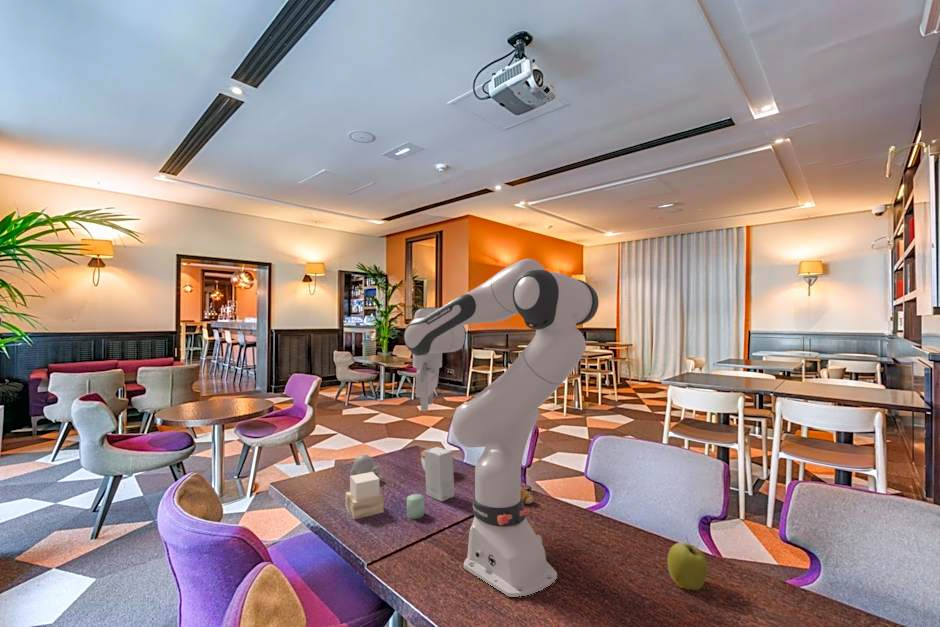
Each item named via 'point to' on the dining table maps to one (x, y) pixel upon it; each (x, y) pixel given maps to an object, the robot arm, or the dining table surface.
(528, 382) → the robot arm
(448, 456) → the skincare box
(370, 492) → the tower top
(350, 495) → the tower base
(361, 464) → the round bodied animal figurine
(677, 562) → the apple
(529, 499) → the croissant
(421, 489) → the dining table surface
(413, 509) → the sage green capsule
